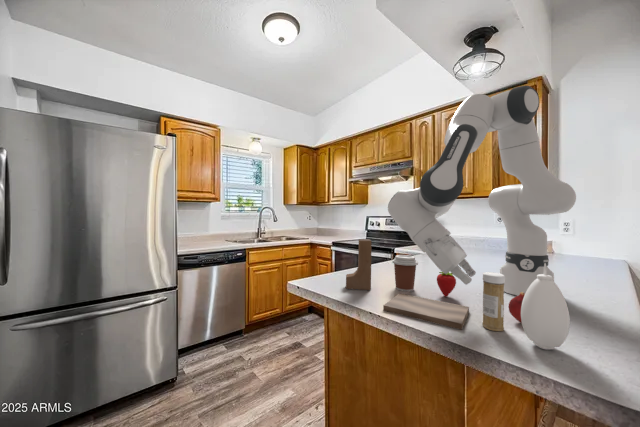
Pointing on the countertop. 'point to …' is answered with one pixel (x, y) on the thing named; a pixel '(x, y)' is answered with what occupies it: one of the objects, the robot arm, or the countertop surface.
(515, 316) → the onion
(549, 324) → the sauce bottle
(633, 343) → the countertop surface
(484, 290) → the sprinkles bottle
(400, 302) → the walnut board
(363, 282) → the wooden block
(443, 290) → the strawberry
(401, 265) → the coffee cup
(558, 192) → the robot arm
